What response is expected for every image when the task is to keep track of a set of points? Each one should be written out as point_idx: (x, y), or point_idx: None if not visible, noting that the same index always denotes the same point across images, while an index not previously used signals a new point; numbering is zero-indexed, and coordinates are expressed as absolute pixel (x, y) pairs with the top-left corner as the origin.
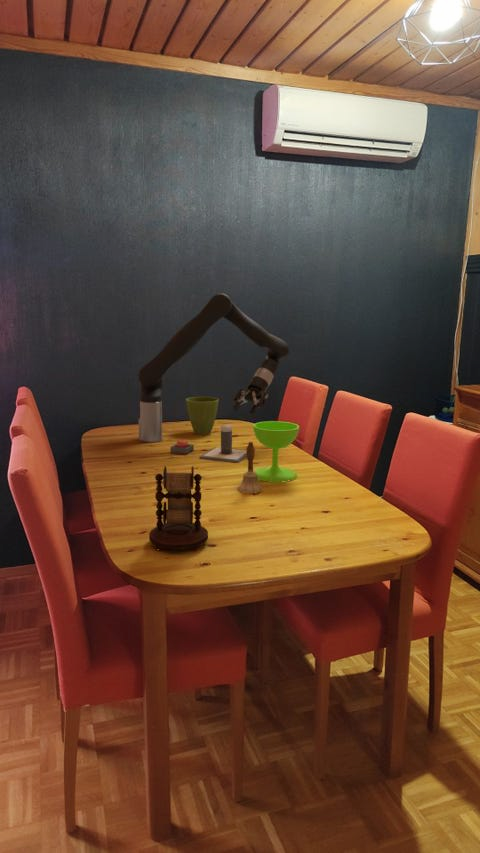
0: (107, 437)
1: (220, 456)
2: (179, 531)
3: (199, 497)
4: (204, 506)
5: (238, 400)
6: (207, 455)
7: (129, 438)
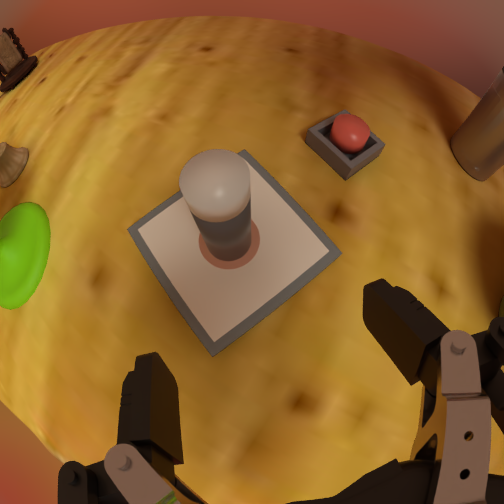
0: None
1: None
2: (14, 70)
3: None
4: (34, 98)
5: (451, 352)
6: None
7: None
